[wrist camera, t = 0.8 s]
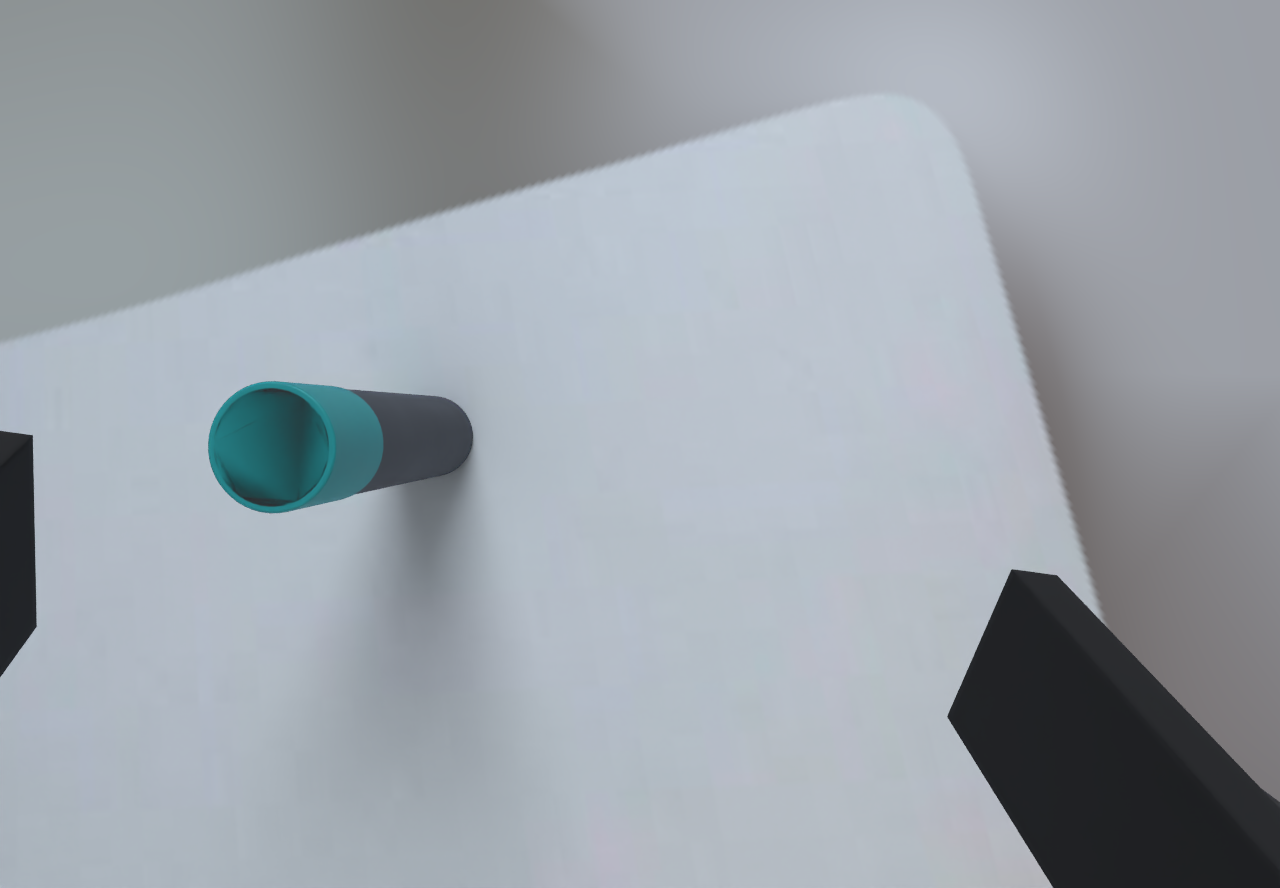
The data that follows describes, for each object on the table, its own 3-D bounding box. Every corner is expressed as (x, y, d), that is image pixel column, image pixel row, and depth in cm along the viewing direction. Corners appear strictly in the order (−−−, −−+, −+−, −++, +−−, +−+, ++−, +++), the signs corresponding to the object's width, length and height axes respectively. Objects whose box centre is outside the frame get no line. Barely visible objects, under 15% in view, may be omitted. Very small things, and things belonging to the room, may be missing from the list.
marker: (437, 377, 32) (276, 354, 20) (491, 440, 32) (362, 453, 20) (376, 432, 32) (180, 441, 20) (430, 494, 32) (266, 540, 20)
